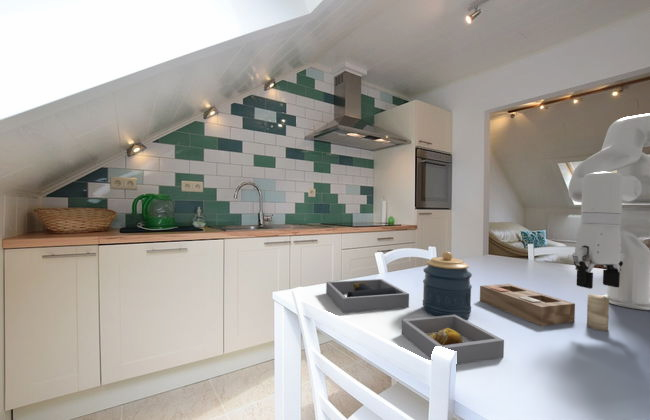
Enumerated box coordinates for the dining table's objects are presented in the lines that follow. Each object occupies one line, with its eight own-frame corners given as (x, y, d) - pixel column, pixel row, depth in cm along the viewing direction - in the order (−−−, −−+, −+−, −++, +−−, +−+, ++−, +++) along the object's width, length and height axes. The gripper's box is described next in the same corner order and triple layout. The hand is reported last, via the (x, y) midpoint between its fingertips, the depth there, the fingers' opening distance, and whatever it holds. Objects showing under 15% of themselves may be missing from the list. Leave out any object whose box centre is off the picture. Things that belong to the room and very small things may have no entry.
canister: (476, 312, 82) (478, 252, 82) (462, 325, 73) (464, 257, 72) (432, 301, 91) (434, 247, 91) (414, 311, 82) (416, 251, 81)
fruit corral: (454, 328, 71) (454, 314, 71) (503, 357, 57) (503, 340, 57) (401, 334, 67) (401, 319, 67) (440, 367, 53) (441, 348, 53)
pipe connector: (338, 282, 92) (378, 279, 98) (338, 298, 92) (377, 294, 98) (354, 294, 82) (397, 289, 87) (353, 312, 82) (397, 306, 87)
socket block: (508, 298, 96) (508, 282, 96) (574, 321, 76) (575, 302, 76) (479, 300, 92) (480, 284, 92) (541, 326, 73) (541, 305, 73)
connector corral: (381, 289, 103) (381, 279, 103) (408, 307, 85) (409, 293, 85) (326, 293, 97) (326, 282, 97) (343, 312, 80) (343, 298, 80)
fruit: (422, 335, 67) (423, 319, 67) (460, 340, 65) (461, 325, 64) (423, 351, 59) (423, 334, 59) (466, 359, 57) (466, 341, 57)
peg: (593, 323, 76) (594, 294, 75) (612, 330, 72) (613, 298, 72) (582, 325, 74) (583, 294, 74) (601, 331, 71) (602, 299, 71)
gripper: (605, 220, 79) (603, 282, 78) (560, 218, 74) (557, 283, 74) (642, 222, 71) (639, 289, 71) (594, 219, 67) (591, 291, 67)
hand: (597, 286), depth 73 cm, fingers open, 9 cm apart
